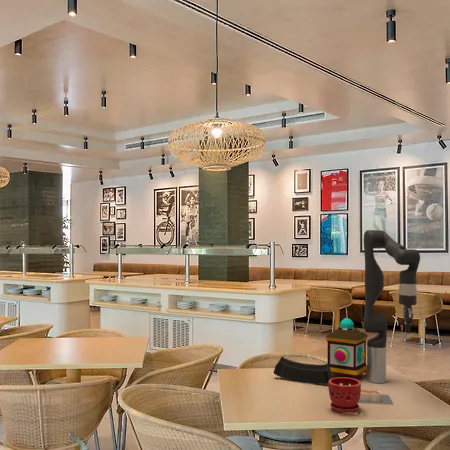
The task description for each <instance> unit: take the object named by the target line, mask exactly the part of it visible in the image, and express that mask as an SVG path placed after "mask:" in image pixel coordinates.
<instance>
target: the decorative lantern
mask: <svg viewBox="0 0 450 450" xmlns="http://www.w3.org/2000/svg"><path fill="white" fill-rule="evenodd" d="M356 327H357V326H354V322H353V320H352V319H350V318H348V317H345V318H343V319H342V320H341V321H340V324H339V326H338V327H337V328H336V329H335V330H334V331H331V332H329V333H328V334H327V335H326V336H325V339H326V342H327V360H326V361H327V363H328V364H329V367H330V370H331V373H332V374H338V375H344V376H349V377H352V378H354V379H357V380H359V376H360V375H362V374H364V375H365V376H366V377H367V341H368V338H369V335H367V334H366V333H365V332H364V331H360V330H359V329H358V328H356ZM327 363H326V364H327Z"/></svg>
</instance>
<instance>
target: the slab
mask: <svg viewBox="0 0 450 450" xmlns="http://www.w3.org/2000/svg"><path fill="white" fill-rule="evenodd" d="M381 395H382V393H381V391H380V390H374V389H373V390H371V389H369V390H368V389H361V395H360V399H359V401H376V402H381Z"/></svg>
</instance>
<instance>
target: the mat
mask: <svg viewBox="0 0 450 450" xmlns="http://www.w3.org/2000/svg"><path fill="white" fill-rule="evenodd" d="M393 402H394V401H393V400H392V398H391V396H390V395H389V394H381V402H376V401H359V402H358V404H368V405H369V404H371V405H387V406H388V405H389V406H391V405H392V406H394V403H393Z"/></svg>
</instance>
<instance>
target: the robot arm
mask: <svg viewBox="0 0 450 450" xmlns="http://www.w3.org/2000/svg"><path fill="white" fill-rule="evenodd" d="M374 249H385V253H387V254H388V256H390V257H392V259H394V261H395V262H396V264H398V265H400V266H408V267H407V269H404V270H401V271H400V272H399V286H398V304H399V305H401V306H403V308H402V310H401V311H402V312H401V313H402V318H403V319H402V320H403V322H404V333H406V334H411V332H412V331H411V327H412V323H413V317H414V309H413V306H417V297H418V296H417V291H418V290H417V273H418V269H419V265H420V262H421V255H420V252H419V250H417V249H413V248H412V249H408V248H406V247H405V246H404V245H403V244H401V243H399V242H397V241H396V240H395V239H393V238H392V237H391V236H390V235H389V234H388V233H387V232H386V231H385V230H382V229H381V230H380V229H377V230H375V229H367V230H365V232H364V234H363V253H364V311H363V312H364V313H363V314H364V315H363V328H364V331H365V332H366V333H369V334H370V333H372V334H373V333H374V334H375V333H377V335H376V336H374V337H371V338H369V339H367V340H366V365H367V376H366V381H367V382H369V383H374V384H385V383H386V382H387V342H388V341H387V335H388V334H387V333H388V318H387V316H386V315H385V314H383V313H373V310H374V306H375V304H376V301H377V300H378V299H379V297H380V296H381V294H382V292H383V291H384V287H385V283H384V282H385V276H384V272H383V271H382V268H381V267H380V266H379V264H378V262H377V260H376V258H375V254H374Z"/></svg>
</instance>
